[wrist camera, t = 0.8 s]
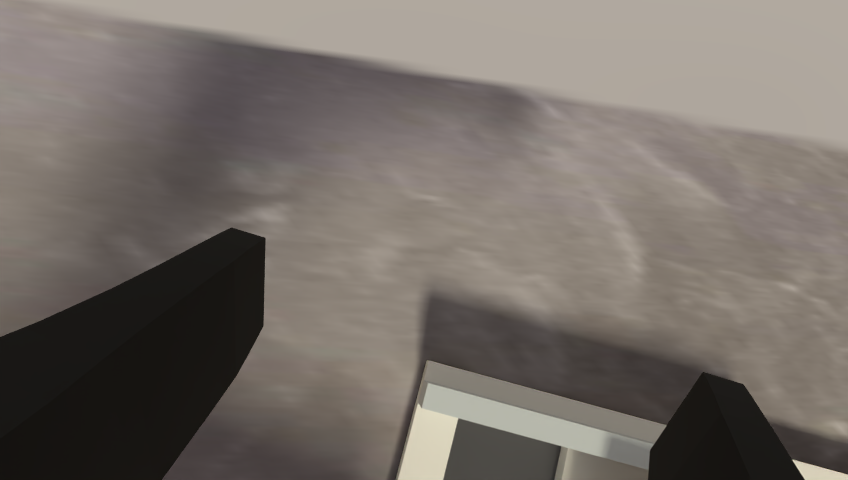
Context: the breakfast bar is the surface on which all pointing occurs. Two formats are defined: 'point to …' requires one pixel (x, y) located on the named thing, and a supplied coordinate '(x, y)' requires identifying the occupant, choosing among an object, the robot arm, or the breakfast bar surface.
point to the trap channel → (525, 434)
